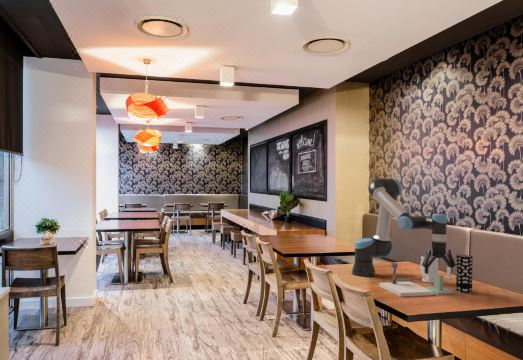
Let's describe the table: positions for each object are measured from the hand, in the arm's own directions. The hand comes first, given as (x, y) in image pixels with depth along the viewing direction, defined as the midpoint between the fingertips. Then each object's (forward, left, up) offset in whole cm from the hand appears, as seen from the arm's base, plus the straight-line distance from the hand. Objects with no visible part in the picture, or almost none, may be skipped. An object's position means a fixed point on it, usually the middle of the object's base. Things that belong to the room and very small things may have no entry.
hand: (438, 279), depth 233 cm
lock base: (-4, -18, -7) cm, 20 cm away
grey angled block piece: (-12, -16, -5) cm, 21 cm away
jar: (-23, +10, -7) cm, 26 cm away
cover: (0, 0, -7) cm, 7 cm away
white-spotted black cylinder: (+2, +15, -7) cm, 17 cm away
